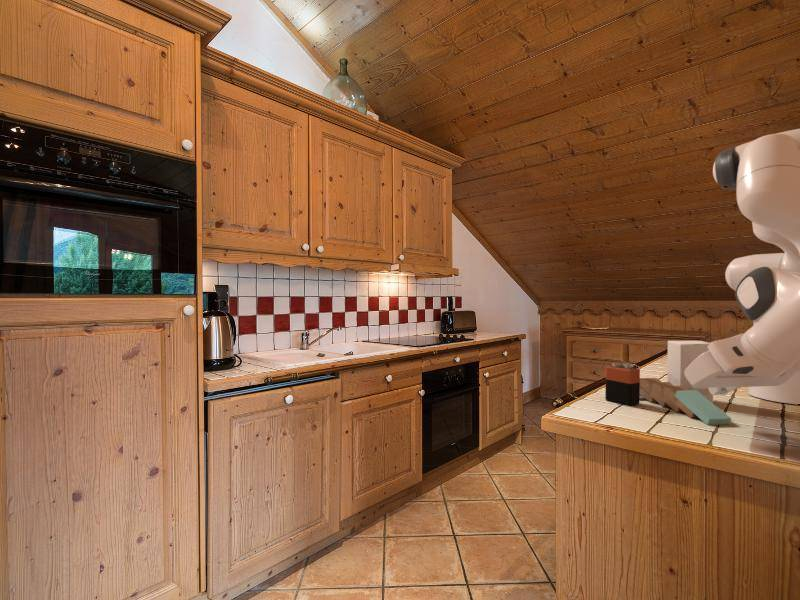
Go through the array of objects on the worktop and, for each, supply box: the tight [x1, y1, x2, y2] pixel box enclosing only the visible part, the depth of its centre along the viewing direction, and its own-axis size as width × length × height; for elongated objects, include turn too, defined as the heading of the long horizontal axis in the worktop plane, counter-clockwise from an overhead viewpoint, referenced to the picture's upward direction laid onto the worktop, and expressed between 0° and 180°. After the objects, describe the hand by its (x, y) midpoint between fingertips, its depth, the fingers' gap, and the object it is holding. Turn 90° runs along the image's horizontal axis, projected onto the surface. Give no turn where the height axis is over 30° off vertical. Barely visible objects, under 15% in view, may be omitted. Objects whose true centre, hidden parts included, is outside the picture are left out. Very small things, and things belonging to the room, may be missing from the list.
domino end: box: [675, 390, 732, 426], centre depth 91 cm, size 5×2×10 cm
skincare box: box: [666, 340, 714, 404], centre depth 105 cm, size 8×7×16 cm
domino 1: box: [640, 386, 657, 403], centre depth 108 cm, size 5×2×10 cm
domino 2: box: [640, 377, 671, 408], centre depth 104 cm, size 5×2×10 cm
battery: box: [604, 362, 641, 407], centre depth 104 cm, size 4×7×10 cm, turn 32°
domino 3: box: [650, 381, 684, 414], centre depth 99 cm, size 5×2×10 cm
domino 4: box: [661, 386, 700, 419], centre depth 95 cm, size 5×2×10 cm
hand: (716, 392), depth 87 cm, fingers closed
